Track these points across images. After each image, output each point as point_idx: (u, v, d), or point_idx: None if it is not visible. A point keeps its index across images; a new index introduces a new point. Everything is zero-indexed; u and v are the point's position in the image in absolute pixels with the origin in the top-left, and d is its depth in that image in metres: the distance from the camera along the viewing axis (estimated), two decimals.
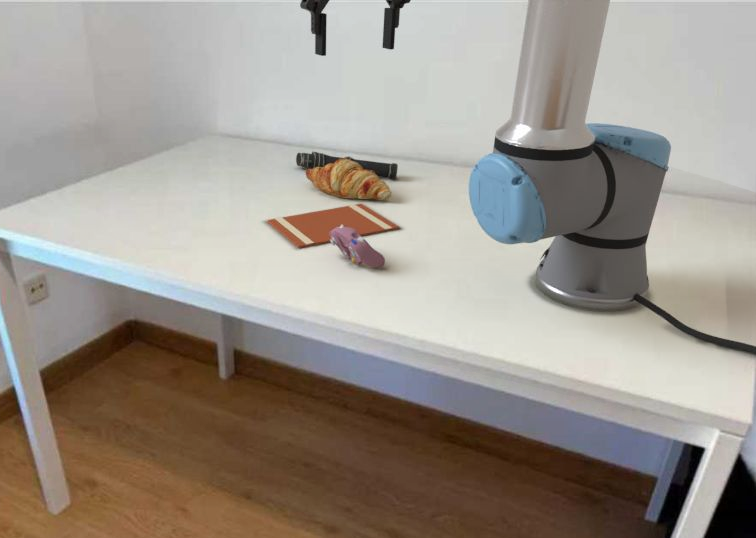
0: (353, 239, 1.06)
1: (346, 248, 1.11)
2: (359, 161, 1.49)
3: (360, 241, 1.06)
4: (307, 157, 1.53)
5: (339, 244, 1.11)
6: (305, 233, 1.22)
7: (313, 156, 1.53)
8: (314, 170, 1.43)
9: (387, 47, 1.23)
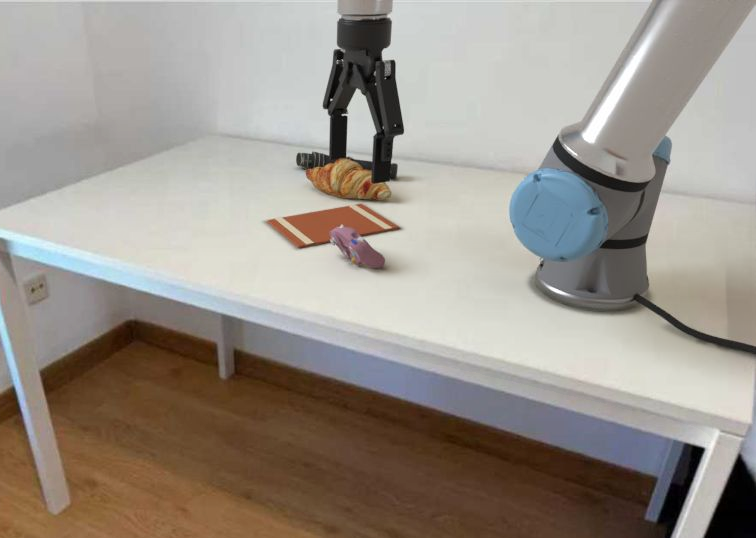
0: (353, 239, 1.06)
1: (346, 248, 1.11)
2: (359, 161, 1.49)
3: (360, 241, 1.06)
4: (307, 157, 1.53)
5: (339, 244, 1.11)
6: (305, 233, 1.22)
7: (313, 156, 1.53)
8: (314, 170, 1.43)
9: None
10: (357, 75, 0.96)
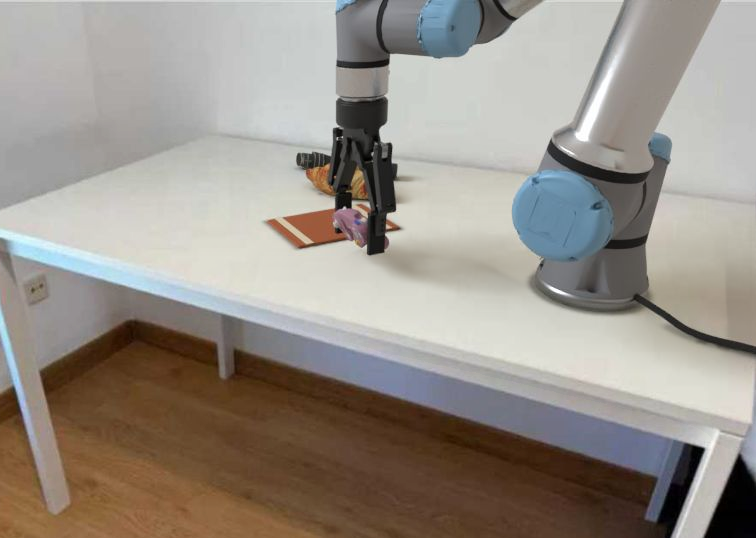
0: (356, 220, 1.05)
1: (349, 230, 1.09)
2: None
3: (363, 222, 1.04)
4: (307, 157, 1.53)
5: (342, 226, 1.09)
6: (305, 233, 1.22)
7: (313, 156, 1.53)
8: (314, 170, 1.43)
9: None
10: (356, 151, 1.00)
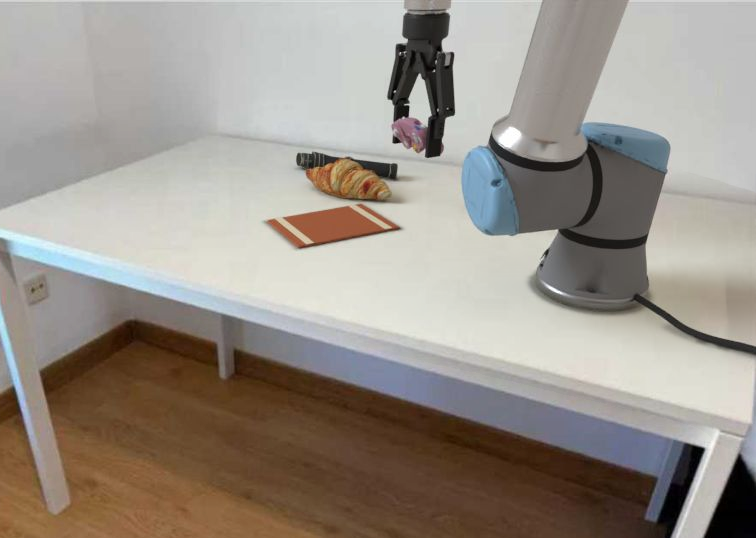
0: (416, 126, 1.18)
1: (407, 138, 1.22)
2: (359, 161, 1.49)
3: (422, 127, 1.17)
4: (307, 157, 1.53)
5: (401, 134, 1.23)
6: (305, 233, 1.22)
7: (313, 156, 1.53)
8: (314, 170, 1.43)
9: None
10: (420, 61, 1.13)
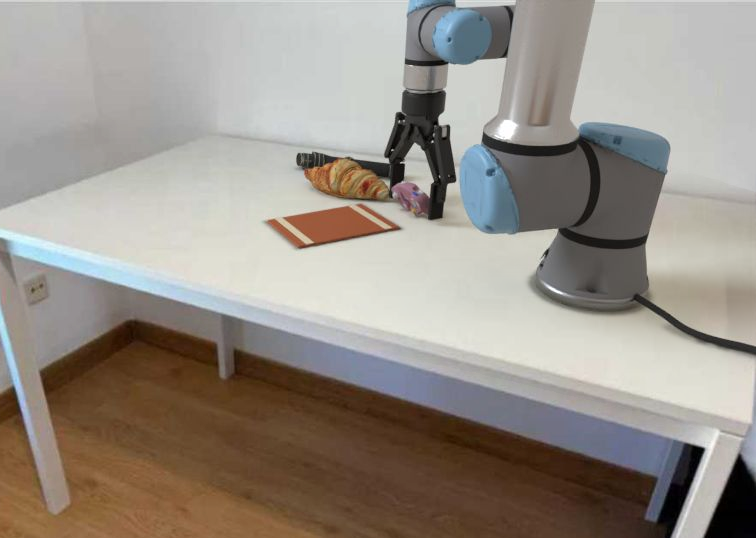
0: (414, 192, 1.25)
1: (406, 201, 1.30)
2: (359, 161, 1.49)
3: (420, 193, 1.25)
4: (307, 157, 1.53)
5: (400, 198, 1.30)
6: (305, 233, 1.22)
7: (313, 156, 1.53)
8: (313, 170, 1.43)
9: None
10: (418, 135, 1.21)
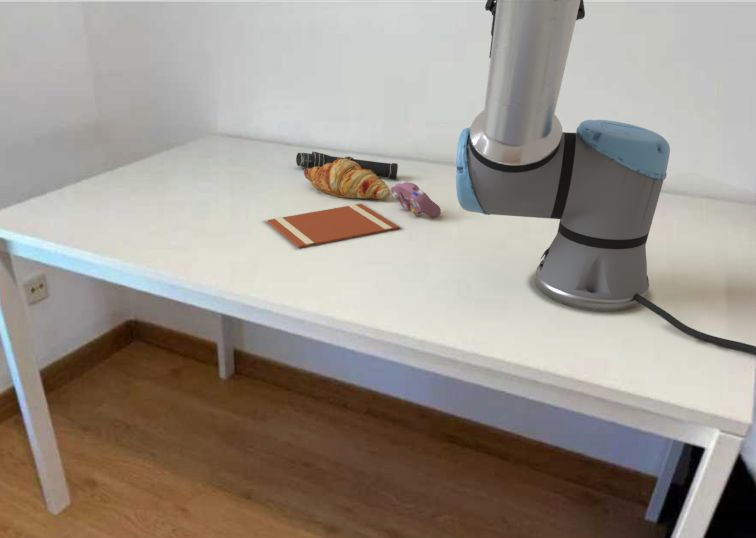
0: (414, 192, 1.25)
1: (406, 201, 1.30)
2: (359, 161, 1.49)
3: (420, 193, 1.25)
4: (307, 157, 1.53)
5: (400, 198, 1.30)
6: (305, 233, 1.22)
7: (313, 156, 1.53)
8: (313, 170, 1.43)
9: None
10: None
